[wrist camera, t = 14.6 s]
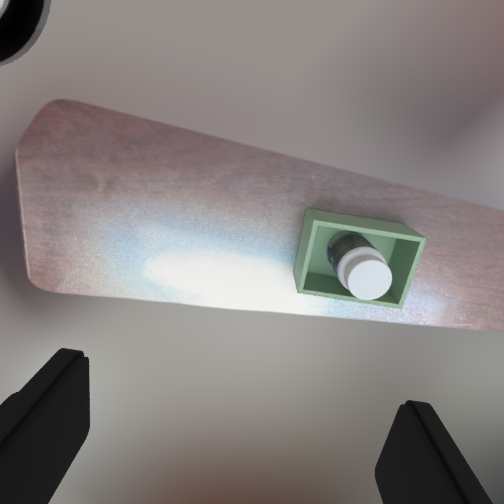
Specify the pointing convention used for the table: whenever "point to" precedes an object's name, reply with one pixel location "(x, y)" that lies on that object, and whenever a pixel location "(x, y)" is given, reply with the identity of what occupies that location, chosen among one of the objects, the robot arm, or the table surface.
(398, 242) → the bin
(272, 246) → the table surface
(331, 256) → the pill bottle
